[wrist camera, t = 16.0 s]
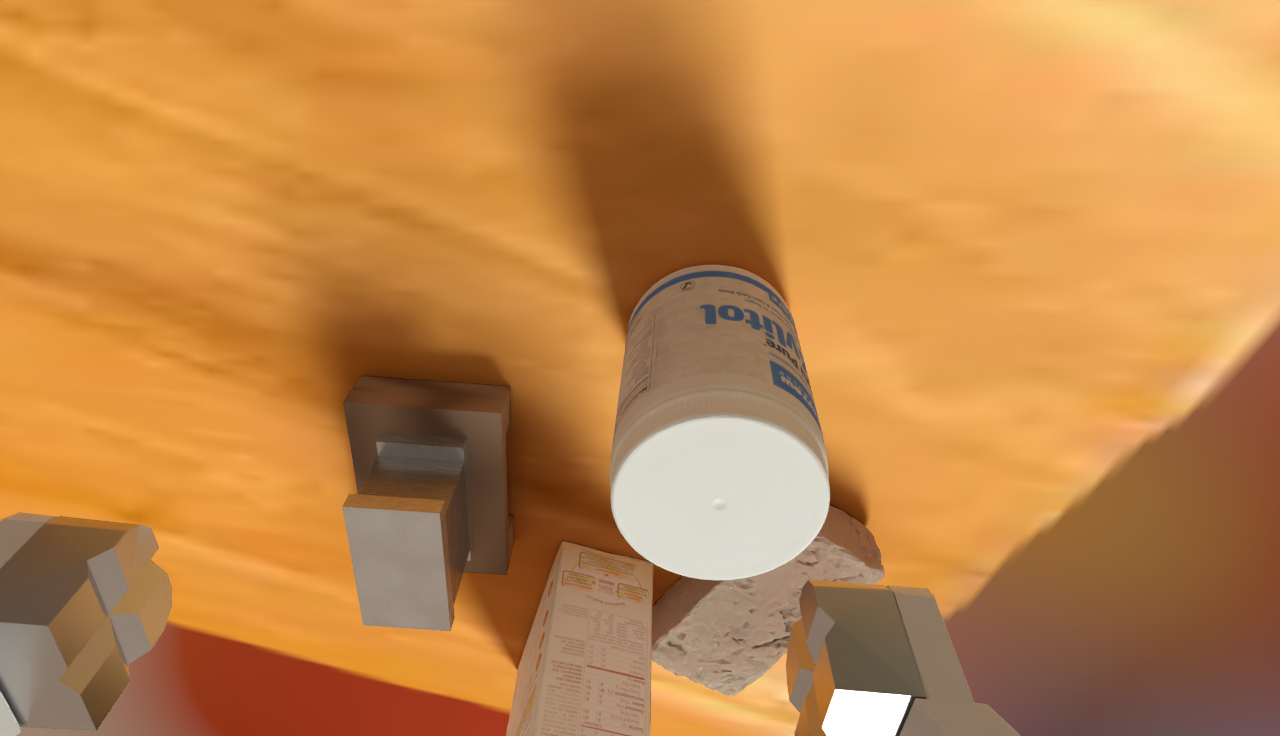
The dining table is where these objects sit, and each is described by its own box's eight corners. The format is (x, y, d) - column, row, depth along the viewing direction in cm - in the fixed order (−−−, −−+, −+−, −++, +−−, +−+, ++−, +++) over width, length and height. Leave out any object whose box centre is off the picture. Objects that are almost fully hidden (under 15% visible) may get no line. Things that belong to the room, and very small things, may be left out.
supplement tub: (818, 283, 44) (879, 446, 31) (758, 418, 48) (790, 605, 36) (649, 237, 42) (642, 386, 30) (606, 379, 47) (583, 559, 35)
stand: (383, 533, 54) (369, 565, 52) (360, 374, 48) (343, 402, 45) (514, 542, 55) (506, 574, 52) (509, 384, 48) (501, 413, 45)
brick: (730, 655, 61) (735, 710, 57) (638, 613, 58) (636, 667, 54) (876, 521, 53) (893, 573, 49) (776, 466, 51) (786, 516, 47)
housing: (381, 431, 46) (342, 506, 41) (467, 437, 46) (439, 513, 41) (396, 543, 51) (363, 625, 45) (474, 549, 51) (450, 631, 45)
